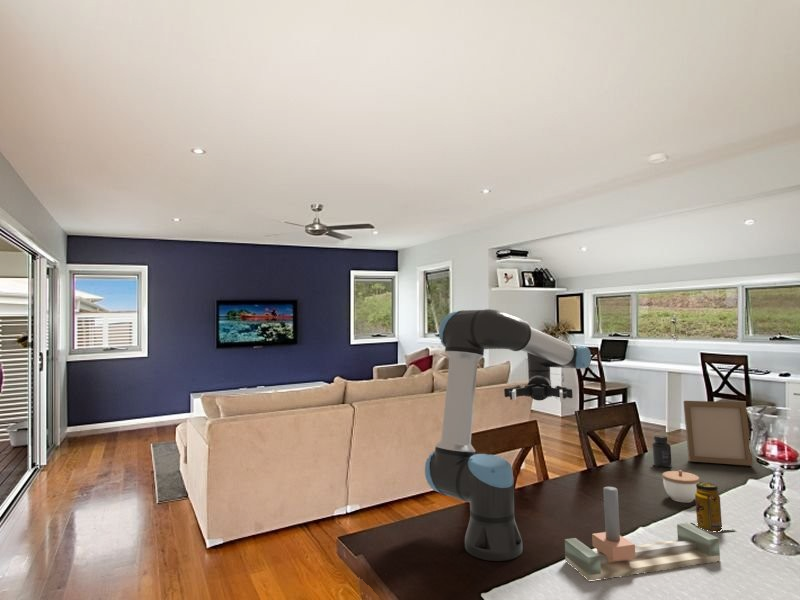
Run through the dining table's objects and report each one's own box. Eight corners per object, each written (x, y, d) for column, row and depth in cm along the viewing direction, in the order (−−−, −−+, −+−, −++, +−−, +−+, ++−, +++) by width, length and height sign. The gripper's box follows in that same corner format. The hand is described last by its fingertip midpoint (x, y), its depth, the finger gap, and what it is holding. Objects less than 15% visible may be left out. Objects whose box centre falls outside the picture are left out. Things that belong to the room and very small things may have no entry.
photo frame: (753, 468, 194) (749, 404, 195) (690, 463, 202) (686, 402, 204) (744, 458, 207) (740, 399, 209) (685, 454, 216) (681, 397, 217)
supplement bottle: (672, 464, 201) (670, 435, 202) (671, 469, 195) (669, 438, 196) (653, 462, 205) (652, 433, 205) (652, 467, 199) (650, 437, 200)
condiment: (690, 523, 143) (687, 481, 144) (717, 521, 144) (714, 479, 144) (708, 533, 136) (705, 489, 136) (736, 531, 136) (733, 487, 137)
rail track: (589, 582, 112) (588, 557, 112) (565, 562, 122) (564, 539, 122) (720, 561, 120) (718, 538, 120) (687, 544, 130) (686, 522, 130)
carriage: (613, 566, 114) (610, 495, 115) (592, 551, 122) (589, 485, 123) (635, 562, 116) (632, 492, 117) (614, 548, 124) (610, 482, 125)
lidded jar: (691, 507, 155) (690, 477, 155) (657, 498, 163) (655, 470, 164) (706, 500, 161) (704, 471, 161) (672, 491, 170) (671, 464, 170)
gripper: (578, 399, 160) (582, 410, 139) (501, 398, 167) (494, 408, 147) (577, 376, 160) (581, 384, 140) (500, 376, 168) (493, 383, 147)
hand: (537, 396), depth 143 cm, fingers open, 13 cm apart
